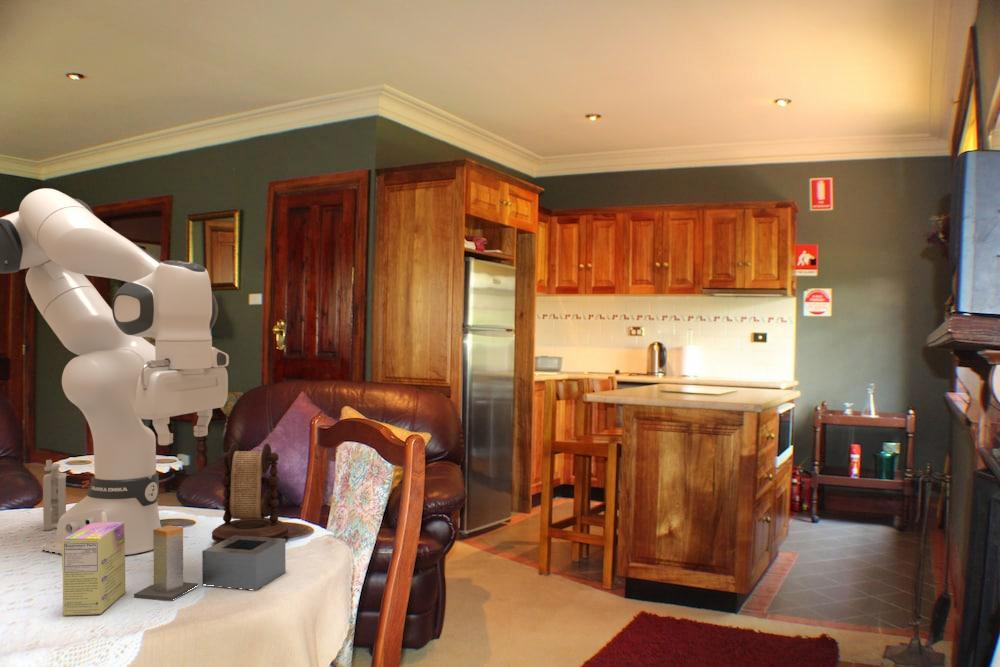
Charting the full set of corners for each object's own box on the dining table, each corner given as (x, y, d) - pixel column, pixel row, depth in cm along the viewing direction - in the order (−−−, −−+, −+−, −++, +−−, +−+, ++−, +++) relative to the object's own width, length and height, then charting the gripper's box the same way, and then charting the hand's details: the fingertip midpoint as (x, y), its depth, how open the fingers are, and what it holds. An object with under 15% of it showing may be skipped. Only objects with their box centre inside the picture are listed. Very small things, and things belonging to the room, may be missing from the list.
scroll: (200, 552, 156) (199, 448, 156) (228, 531, 171) (227, 437, 171) (275, 552, 156) (275, 449, 156) (297, 532, 171) (296, 438, 170)
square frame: (202, 586, 136) (202, 550, 136) (234, 568, 146) (234, 535, 146) (256, 590, 134) (256, 554, 134) (285, 572, 144) (285, 538, 144)
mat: (134, 597, 131) (134, 593, 131) (161, 583, 137) (161, 580, 137) (172, 600, 129) (172, 597, 129) (198, 586, 136) (198, 583, 136)
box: (90, 593, 133) (89, 521, 132) (126, 592, 133) (125, 521, 133) (61, 616, 122) (60, 539, 122) (100, 615, 123) (99, 538, 122)
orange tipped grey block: (166, 593, 131) (166, 532, 131) (153, 590, 132) (153, 529, 132) (183, 587, 134) (182, 527, 133) (170, 584, 135) (169, 525, 135)
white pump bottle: (68, 519, 181) (67, 453, 181) (65, 529, 172) (65, 459, 172) (46, 521, 179) (46, 454, 179) (43, 532, 171) (42, 461, 170)
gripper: (159, 361, 124) (159, 451, 125) (234, 355, 144) (234, 432, 144) (124, 360, 126) (124, 449, 126) (203, 354, 146) (203, 431, 146)
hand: (183, 440), depth 135 cm, fingers open, 8 cm apart
